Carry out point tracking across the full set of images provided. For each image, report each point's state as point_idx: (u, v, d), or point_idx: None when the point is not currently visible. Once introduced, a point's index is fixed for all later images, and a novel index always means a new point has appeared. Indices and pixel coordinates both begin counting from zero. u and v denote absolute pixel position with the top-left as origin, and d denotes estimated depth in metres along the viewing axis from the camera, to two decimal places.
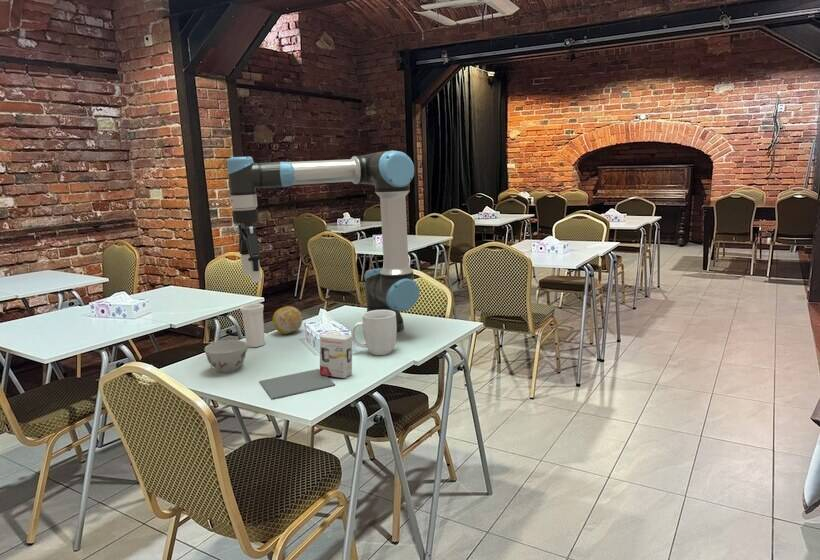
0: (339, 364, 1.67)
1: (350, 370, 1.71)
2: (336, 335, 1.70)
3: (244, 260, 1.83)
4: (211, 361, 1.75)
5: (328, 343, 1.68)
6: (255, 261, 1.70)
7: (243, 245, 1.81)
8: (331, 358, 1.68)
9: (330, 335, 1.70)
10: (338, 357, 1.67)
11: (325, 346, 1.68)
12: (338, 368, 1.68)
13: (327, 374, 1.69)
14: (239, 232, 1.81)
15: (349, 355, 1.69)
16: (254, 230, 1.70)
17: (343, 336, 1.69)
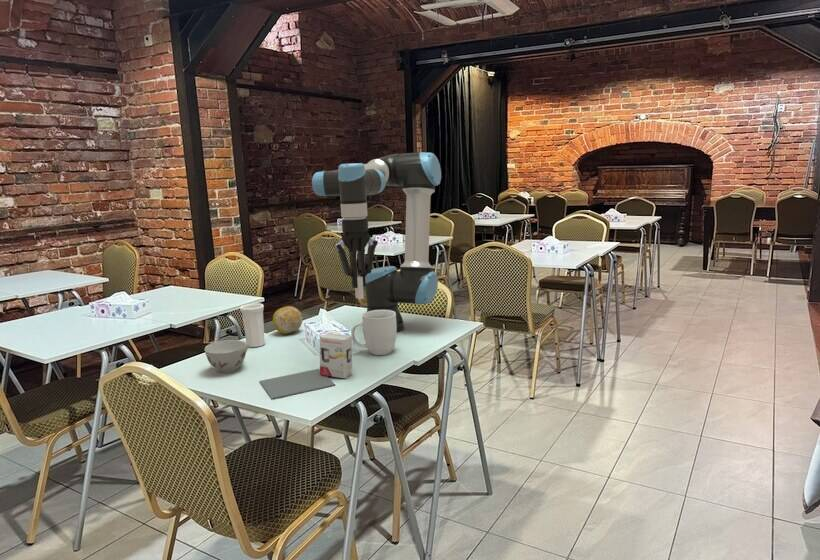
0: (339, 364, 1.67)
1: (350, 370, 1.71)
2: (336, 335, 1.70)
3: None
4: (211, 361, 1.75)
5: (328, 343, 1.68)
6: (352, 277, 1.69)
7: (358, 260, 1.69)
8: (331, 358, 1.68)
9: (330, 335, 1.70)
10: (338, 357, 1.67)
11: (325, 346, 1.68)
12: (338, 368, 1.68)
13: (327, 374, 1.69)
14: (368, 247, 1.71)
15: (349, 355, 1.69)
16: (338, 249, 1.64)
17: (343, 336, 1.69)
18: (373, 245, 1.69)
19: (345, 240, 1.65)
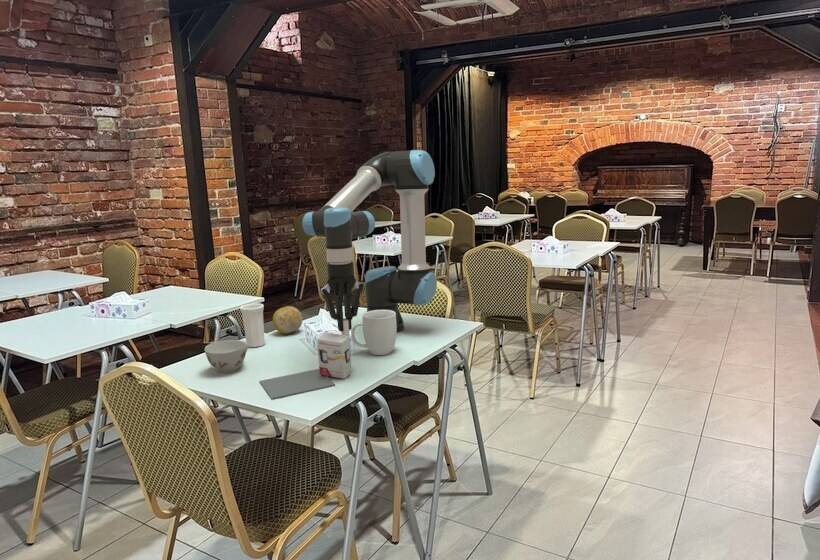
0: (338, 366, 1.67)
1: (350, 369, 1.70)
2: (333, 336, 1.68)
3: None
4: (211, 361, 1.75)
5: (326, 345, 1.66)
6: (338, 321, 1.69)
7: (344, 303, 1.70)
8: (329, 360, 1.67)
9: (327, 336, 1.68)
10: (337, 359, 1.66)
11: (323, 348, 1.67)
12: (337, 369, 1.67)
13: (327, 374, 1.69)
14: (354, 289, 1.71)
15: (347, 355, 1.68)
16: (323, 293, 1.64)
17: (340, 337, 1.67)
18: (359, 288, 1.69)
19: (331, 284, 1.65)
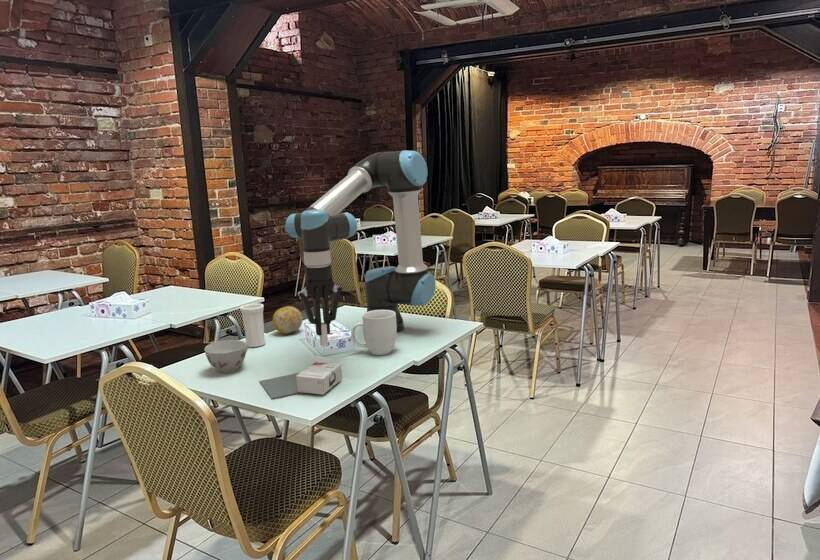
0: None
1: (339, 369, 1.65)
2: (308, 383, 1.57)
3: None
4: (211, 361, 1.75)
5: None
6: (316, 325, 1.66)
7: (322, 307, 1.67)
8: None
9: (302, 384, 1.57)
10: None
11: None
12: None
13: None
14: None
15: (332, 378, 1.60)
16: (301, 297, 1.62)
17: (316, 384, 1.56)
18: (337, 292, 1.66)
19: (308, 288, 1.62)
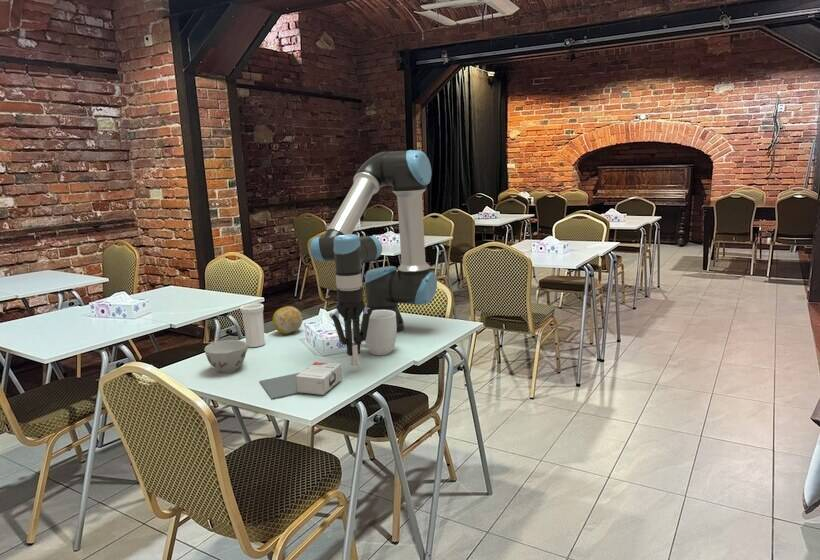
0: None
1: (339, 369, 1.65)
2: (308, 383, 1.57)
3: None
4: (211, 361, 1.75)
5: None
6: (347, 345, 1.71)
7: (353, 328, 1.72)
8: None
9: (303, 384, 1.57)
10: None
11: None
12: None
13: None
14: (363, 314, 1.74)
15: (332, 379, 1.60)
16: (333, 319, 1.67)
17: (316, 384, 1.56)
18: (368, 313, 1.72)
19: (340, 310, 1.68)
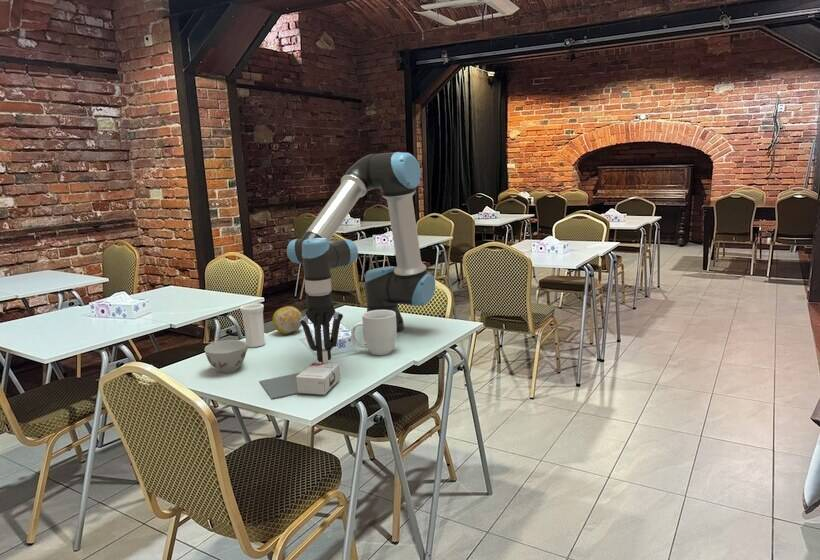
0: None
1: (338, 369, 1.65)
2: (309, 383, 1.56)
3: None
4: (211, 361, 1.75)
5: None
6: (317, 351, 1.67)
7: (323, 334, 1.68)
8: None
9: (303, 384, 1.57)
10: None
11: None
12: None
13: None
14: (333, 320, 1.69)
15: (332, 378, 1.60)
16: (302, 325, 1.63)
17: (317, 384, 1.56)
18: (338, 319, 1.68)
19: (309, 316, 1.63)
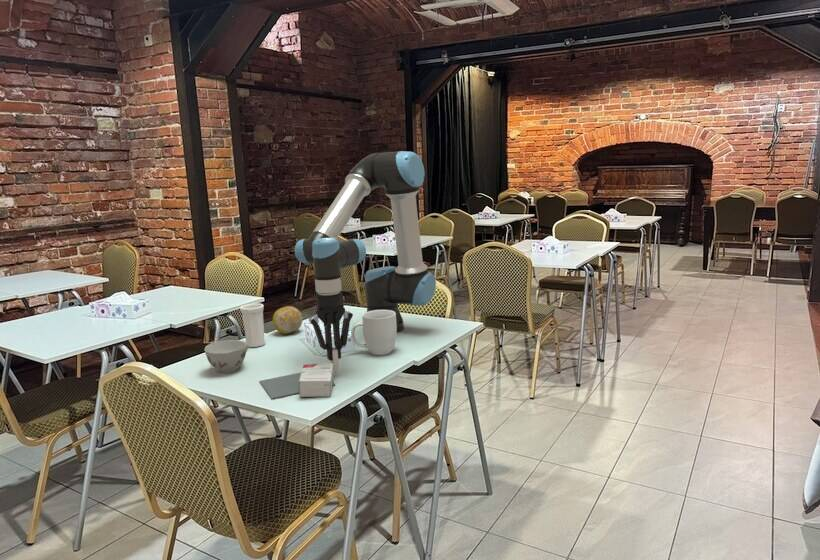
0: None
1: (333, 369, 1.65)
2: (314, 386, 1.55)
3: None
4: (211, 361, 1.75)
5: None
6: (327, 350, 1.69)
7: (333, 333, 1.70)
8: None
9: (307, 388, 1.55)
10: None
11: None
12: None
13: None
14: (343, 319, 1.71)
15: (332, 379, 1.60)
16: (312, 324, 1.65)
17: (323, 387, 1.55)
18: (348, 318, 1.69)
19: (319, 315, 1.65)
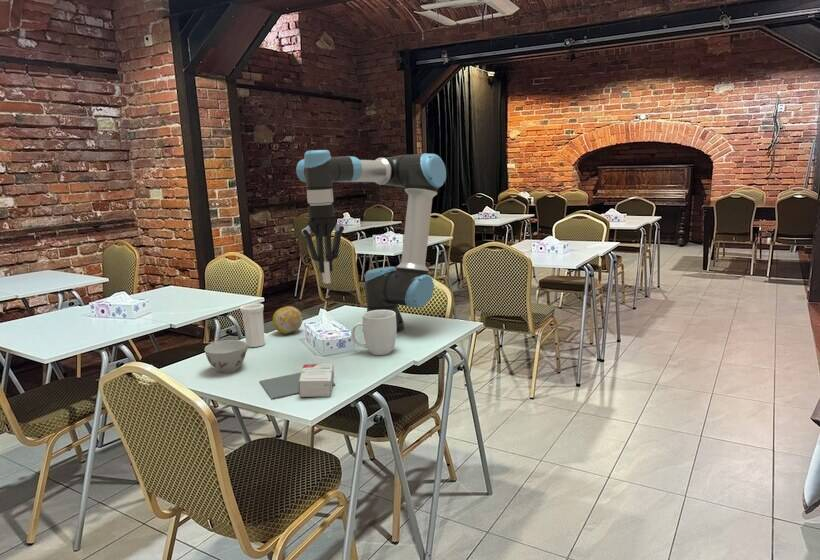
0: None
1: (333, 369, 1.65)
2: (314, 386, 1.55)
3: None
4: (211, 361, 1.75)
5: None
6: (318, 262, 1.72)
7: (325, 246, 1.73)
8: None
9: (307, 388, 1.55)
10: None
11: None
12: None
13: None
14: (335, 232, 1.74)
15: (332, 379, 1.60)
16: (304, 234, 1.68)
17: (323, 387, 1.55)
18: (339, 231, 1.72)
19: (311, 225, 1.68)
